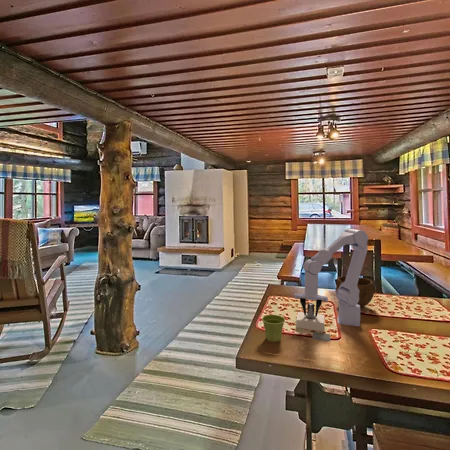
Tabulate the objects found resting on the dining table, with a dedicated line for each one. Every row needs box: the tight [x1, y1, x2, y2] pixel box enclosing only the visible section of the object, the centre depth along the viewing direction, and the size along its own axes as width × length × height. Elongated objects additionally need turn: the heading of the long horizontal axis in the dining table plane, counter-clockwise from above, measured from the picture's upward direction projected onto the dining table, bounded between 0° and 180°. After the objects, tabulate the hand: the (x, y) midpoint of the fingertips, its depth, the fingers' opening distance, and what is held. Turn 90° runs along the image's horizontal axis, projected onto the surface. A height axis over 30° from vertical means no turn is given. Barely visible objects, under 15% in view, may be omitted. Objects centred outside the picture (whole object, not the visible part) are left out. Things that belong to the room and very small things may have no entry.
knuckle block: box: [295, 311, 325, 332], centre depth 139 cm, size 12×10×4 cm
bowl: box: [335, 275, 375, 308], centre depth 163 cm, size 19×19×15 cm
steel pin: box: [306, 302, 315, 319], centre depth 139 cm, size 3×3×10 cm
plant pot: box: [261, 314, 286, 343], centre depth 126 cm, size 9×9×9 cm
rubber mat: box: [312, 331, 331, 342], centre depth 128 cm, size 7×7×1 cm
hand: (310, 315), depth 139 cm, fingers open, 4 cm apart
